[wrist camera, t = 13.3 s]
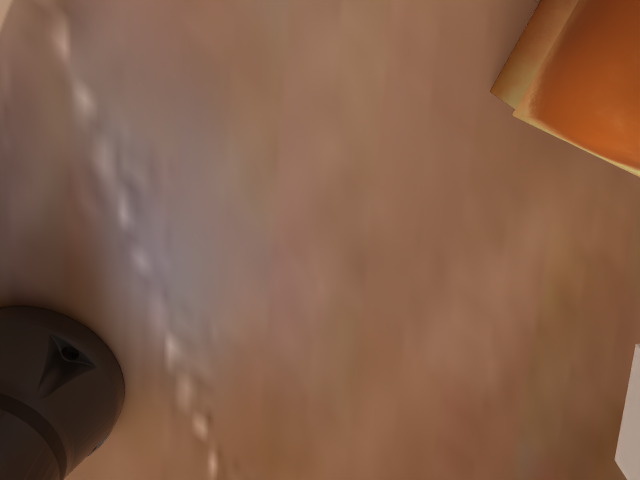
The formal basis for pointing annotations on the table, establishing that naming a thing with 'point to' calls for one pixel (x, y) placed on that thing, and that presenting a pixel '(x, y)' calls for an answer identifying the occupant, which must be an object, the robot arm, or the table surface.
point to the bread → (580, 76)
